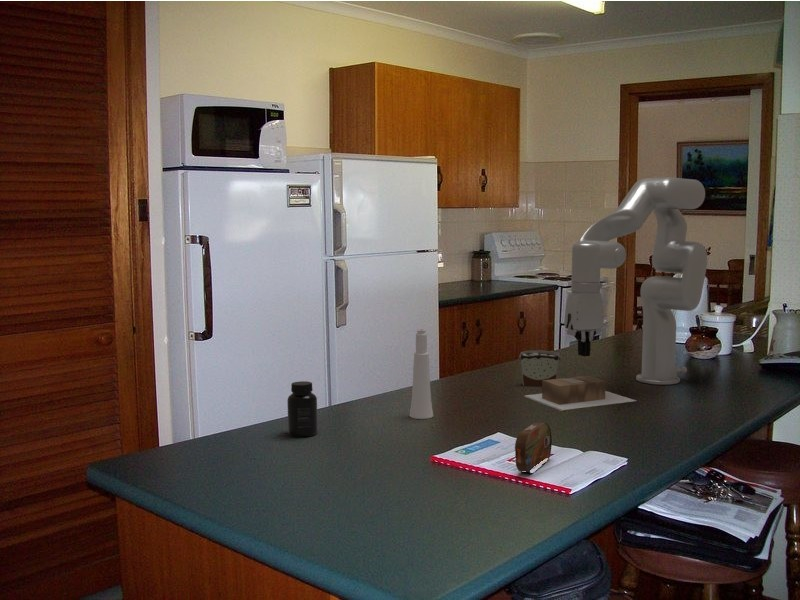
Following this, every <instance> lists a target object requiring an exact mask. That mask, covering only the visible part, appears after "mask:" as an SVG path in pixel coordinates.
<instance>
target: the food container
mask: <svg viewBox="0 0 800 600" xmlns="http://www.w3.org/2000/svg"><path fill="white" fill-rule="evenodd" d="M560 354H561V353H559V352H555V351H551V350H525V351H522V352H520V354H519V356H518V361H520V368H521V377H522V379H521V380H522V386H523V387H542V380H551V379H558V371H559V363H560V362H562V357H561V355H560Z"/></svg>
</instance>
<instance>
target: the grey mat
mask: <svg viewBox="0 0 800 600" xmlns="http://www.w3.org/2000/svg"><path fill="white" fill-rule="evenodd" d="M524 398H525V399H526V398H527V399H529V400H531V401H534V402H537V403H539V404H542V405H545V406H547V407H549V408H553V409H555V410H558V411H561V412H565V410H566V411H568V410H575V409H576V410H577V409H581V408H591V407H599V406H607V405H616V404H624V403H631V402H637V400H636V399H632V398H629V397H628V396H627V397H626V396H622V395H620V394H617V393H613V392H610V391H607V390H606V391H605V399H603V400H595V401H587V402H578V403H570V404H562V405H558V404H556V403H553V402H550V401H548V400H545V399H542V393H536V394H527V395H524Z"/></svg>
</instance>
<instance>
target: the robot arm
mask: <svg viewBox="0 0 800 600" xmlns="http://www.w3.org/2000/svg"><path fill="white" fill-rule="evenodd" d="M705 199H706V189H705V187H704V185H703V183H702V182H700V180H698V179H693V178H692V179H691V178H681V177H670V176H667V177H645V178H640V179H639V180H637V181H636V182H635V183H634V184H633V186H631V188H630V190H629V191H628V192H627V193H626V195H625V197H624V198H623V200H621V202H620V204H619V205H618V206H617V208H615V209H616V210H614V211H613V212H611V213H609V214H607V215H606V216H604V217H602V218H600V219H599V220H596V222H594V223H593V224H592V225H590V226H589V227H588V228H587V229H586V230H585V231H584V233H583V234H582V235H581V237H580V238H579V239H578V241H577V242H575V243H574V244H573V245H572V249H571V289H570V293H568V295H567V299H566V302H565V303H566V304H565V311H564V320H563V321H564V328H565V329H567V330H566V334H567V335H568V336H572V337H574V338H575V340H576V341H577V355H578V356H581V357H590V356H591V343H592V342H593V340H594V337H596V335H598V334H601V333H602V332H603V326H604V318H605V317H604V315H605V314H604V313H605V312H604V302H603V296H602V293H601V289H603V283H601V269H606V270H607V269H608V270H609V269H610V270H612V269H617V268H619V267H621V266H622V265H623V264H624V263H625V260H626V259H627V251H626V249H625V246H623V245H622V244H621V243H620V242H617V241H613V240H614V239H617V238H619V237H620V238H621V237H624V236H627V235H630V234H633V233H636V232H638V231H639V230H640V229H641V228H642V227H643V225H644V224H645V222H646V221H647V220H648V218H649V217H650V214H652V212H654V215H655V218H656V225H657V226H656V227H657V228H656V235H655V239H654V244H653V245H654V246H653V250H652V257H651V265H652V268H653V269H654V270H655V271H658V272H661V273H667V274H668V273H670V274H681V275H682V277H678V276H677V277H673V276H661V275H659V276H658V275H655V276H650V277H648V278H646V279H645V280H644V281H643V282H642V284H641V285H640V286H641V287H640V300H641V305H642V307H641V308H642V318H643V319H642V349H641V350H642V351H641V373H639V374H637V375H635V378H636V381H638V382H640V383H644V384H649V385H661V386H662V385H664V386H666V385H676V384H679V383H680V382H681V378H680V377H679V376H678V375H680V374H686V373H687V371H688V369H687V367H686V366H678V365H676V347H677V346H676V343H677V342H676V341H677V321H676V317H675V315H674V314H673V312H672V310H674V311H675V310H676V311H682V312H683V311H685V312H687V311H688V312H689V311H693V310H695V309H697V307H698V306H699V304H700V301H701V299H702V295H703V289H704V284H705V279H706V278H705V277H706V273H707V266H708V252H707V249H706V247H705V246H704V245H703V244H702V243H700V242H698V241H691V240H689V241H688V240H687V241H686V238H687V232H688V225H687V221H686V219H685V217H684V215H683V213H682V212H681V210H695V209H698V208H699V207H701V206H702V205H703V203H704V201H705Z"/></svg>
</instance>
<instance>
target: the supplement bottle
mask: <svg viewBox="0 0 800 600" xmlns="http://www.w3.org/2000/svg"><path fill="white" fill-rule="evenodd" d="M290 390H291V394H290V395H289V396H288V397H287V401H286V402H287V428H288V429H287V431H288V435H289V436H291V437H295V438H296V437H297V438H306V437H307V438H308V437H312V436H315V435H316V434H317V433H318V425H319V424H318V423H319V422H318V398H317V396H316V395H315V394H314V392H313V391H314V390H313V382H312V381H307V380H303V381H295V382H292V383H291V389H290Z"/></svg>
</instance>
